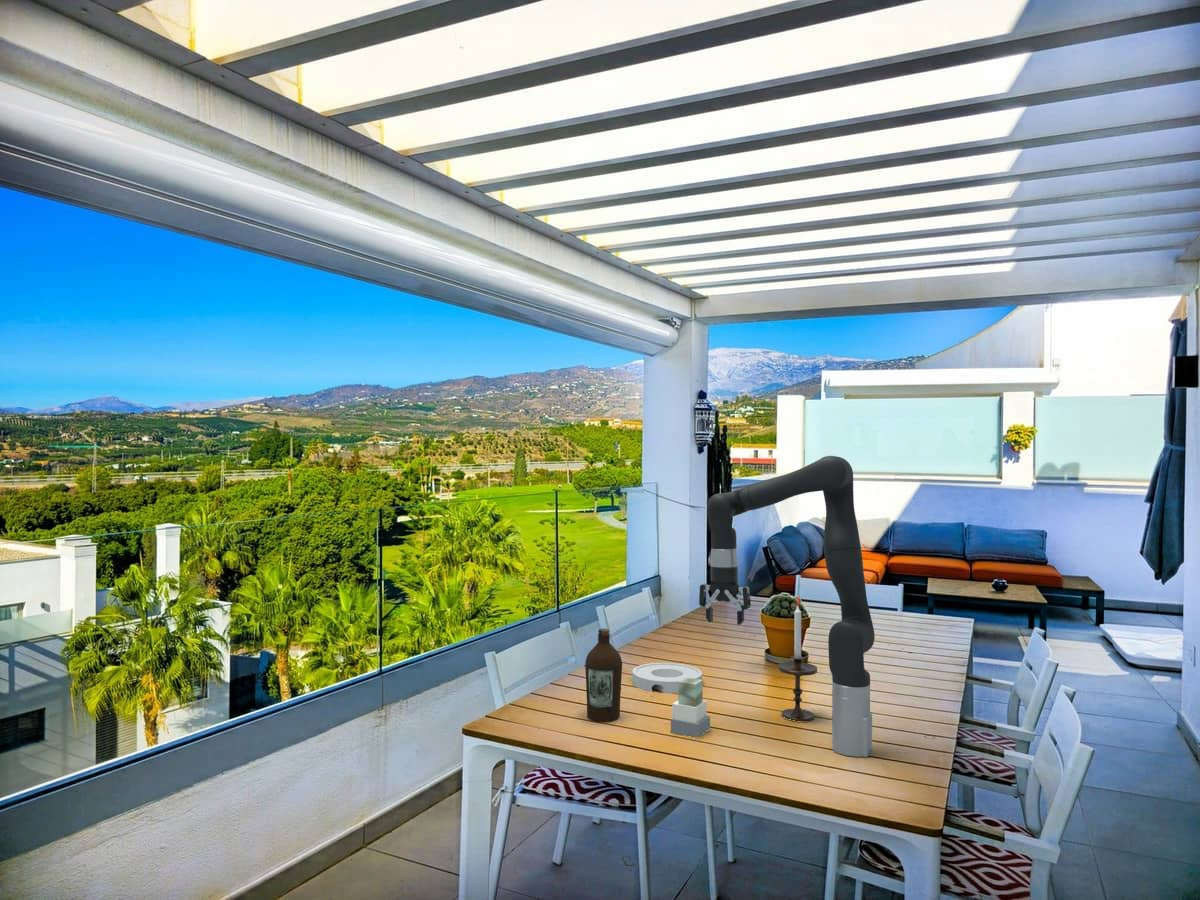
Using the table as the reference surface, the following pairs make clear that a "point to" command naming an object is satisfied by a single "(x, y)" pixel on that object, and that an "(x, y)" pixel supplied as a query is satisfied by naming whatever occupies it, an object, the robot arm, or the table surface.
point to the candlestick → (797, 672)
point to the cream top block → (688, 712)
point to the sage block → (690, 692)
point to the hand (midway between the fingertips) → (724, 622)
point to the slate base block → (690, 727)
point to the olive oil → (603, 680)
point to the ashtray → (663, 676)
